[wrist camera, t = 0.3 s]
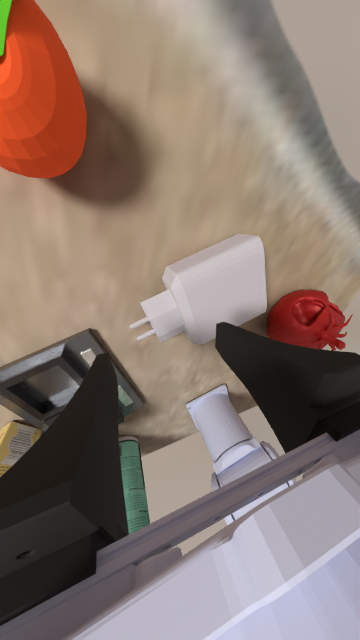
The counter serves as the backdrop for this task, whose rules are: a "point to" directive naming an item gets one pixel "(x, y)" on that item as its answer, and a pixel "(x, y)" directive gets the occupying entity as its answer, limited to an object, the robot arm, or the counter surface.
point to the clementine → (37, 95)
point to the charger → (209, 291)
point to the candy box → (15, 443)
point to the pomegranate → (307, 320)
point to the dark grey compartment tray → (57, 380)
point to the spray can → (133, 483)
